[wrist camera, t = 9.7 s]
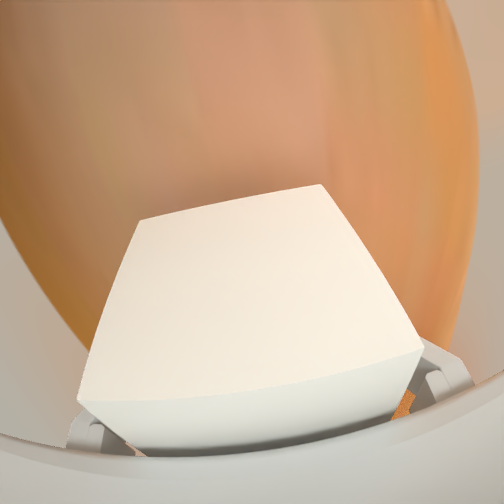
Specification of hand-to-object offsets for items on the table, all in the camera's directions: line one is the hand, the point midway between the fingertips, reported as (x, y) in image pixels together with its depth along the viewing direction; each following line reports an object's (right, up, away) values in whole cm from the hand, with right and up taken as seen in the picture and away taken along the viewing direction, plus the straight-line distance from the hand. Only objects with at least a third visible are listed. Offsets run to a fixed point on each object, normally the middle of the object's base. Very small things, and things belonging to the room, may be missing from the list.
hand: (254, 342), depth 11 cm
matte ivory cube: (0, +2, +3) cm, 3 cm away
